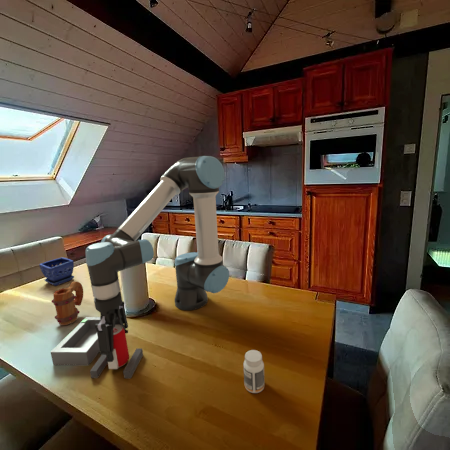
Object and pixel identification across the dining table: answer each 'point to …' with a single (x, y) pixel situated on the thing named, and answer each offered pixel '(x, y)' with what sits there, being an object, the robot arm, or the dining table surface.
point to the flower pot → (57, 270)
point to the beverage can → (120, 345)
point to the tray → (78, 345)
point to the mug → (68, 303)
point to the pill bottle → (253, 371)
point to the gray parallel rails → (128, 369)
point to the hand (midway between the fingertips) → (118, 359)
